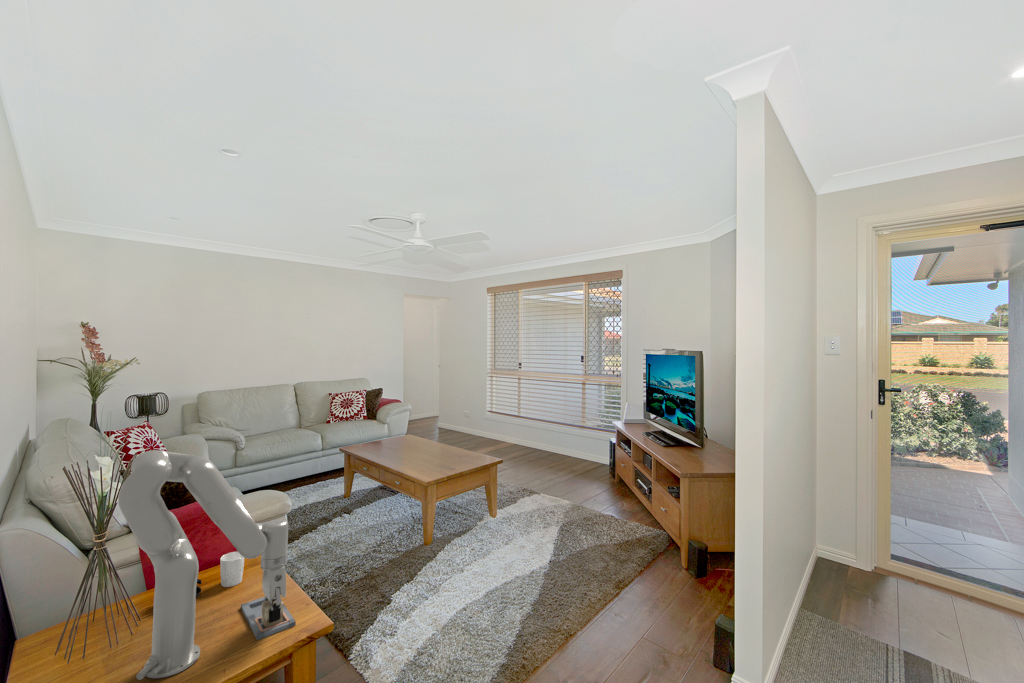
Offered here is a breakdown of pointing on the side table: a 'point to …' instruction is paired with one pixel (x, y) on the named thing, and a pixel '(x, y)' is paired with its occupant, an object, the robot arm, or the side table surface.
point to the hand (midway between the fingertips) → (271, 616)
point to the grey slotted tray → (253, 617)
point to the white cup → (231, 569)
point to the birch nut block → (266, 614)
